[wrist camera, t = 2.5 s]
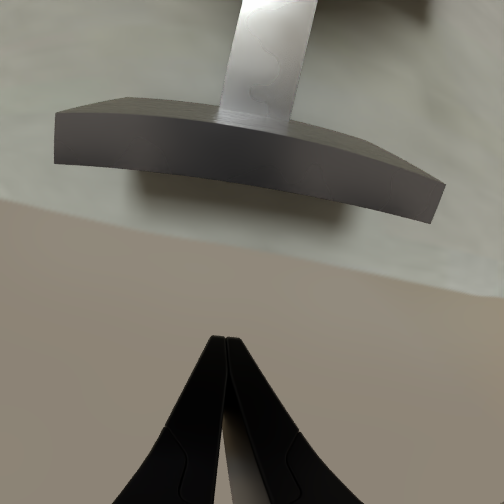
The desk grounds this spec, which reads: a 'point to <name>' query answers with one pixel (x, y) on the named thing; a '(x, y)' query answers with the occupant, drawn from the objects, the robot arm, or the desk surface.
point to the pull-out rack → (249, 129)
